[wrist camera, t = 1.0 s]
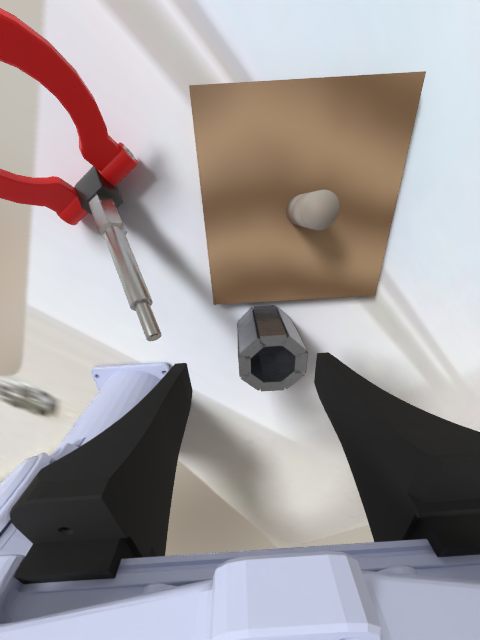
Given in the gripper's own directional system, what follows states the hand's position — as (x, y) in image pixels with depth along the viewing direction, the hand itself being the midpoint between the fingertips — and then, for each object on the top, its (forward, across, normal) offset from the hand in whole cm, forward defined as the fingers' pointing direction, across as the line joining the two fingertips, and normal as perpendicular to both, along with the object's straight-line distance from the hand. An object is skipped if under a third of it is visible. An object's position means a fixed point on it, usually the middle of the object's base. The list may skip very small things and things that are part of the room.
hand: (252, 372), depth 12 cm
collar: (+10, -2, +3) cm, 10 cm away
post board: (+10, -4, -8) cm, 13 cm away
